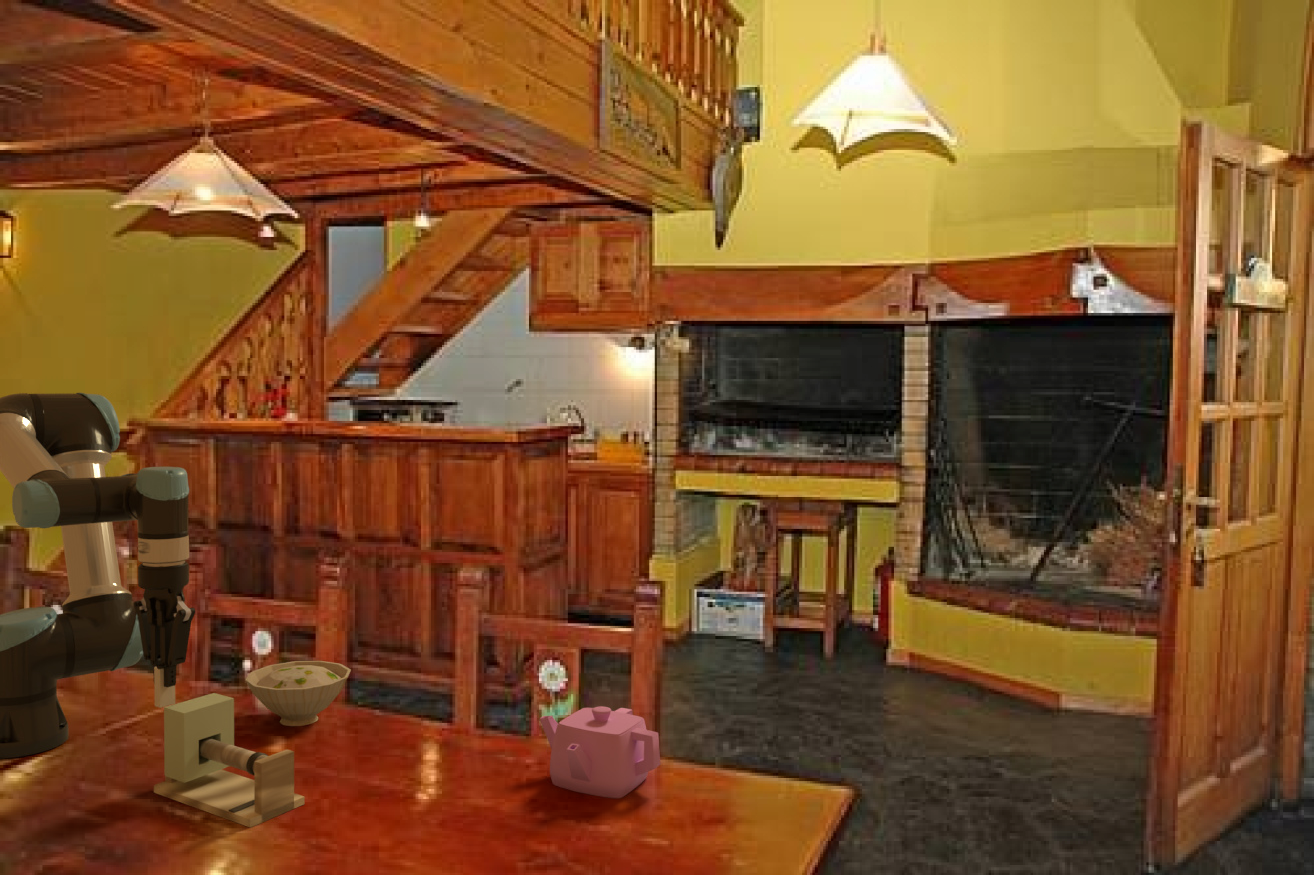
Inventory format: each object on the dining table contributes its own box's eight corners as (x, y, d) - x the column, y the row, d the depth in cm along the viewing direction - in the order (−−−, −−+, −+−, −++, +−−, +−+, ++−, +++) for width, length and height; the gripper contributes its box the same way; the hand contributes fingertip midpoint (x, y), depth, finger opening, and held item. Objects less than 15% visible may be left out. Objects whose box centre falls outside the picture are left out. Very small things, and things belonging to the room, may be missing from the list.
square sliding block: (164, 775, 165) (164, 707, 164) (214, 758, 172) (214, 692, 172) (184, 782, 162) (184, 713, 161) (234, 764, 170) (234, 698, 169)
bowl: (311, 697, 214) (311, 649, 213) (372, 717, 203) (372, 667, 202) (224, 722, 198) (224, 670, 198) (285, 745, 187) (285, 690, 187)
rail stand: (153, 792, 165) (153, 736, 165) (209, 772, 174) (208, 719, 173) (250, 827, 154) (250, 767, 153) (304, 804, 162) (304, 747, 162)
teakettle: (665, 794, 170) (667, 719, 169) (564, 807, 164) (566, 730, 163) (630, 757, 186) (631, 689, 185) (537, 768, 180) (538, 697, 179)
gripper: (117, 561, 170) (119, 704, 171) (167, 570, 163) (169, 718, 164) (159, 555, 176) (161, 692, 178) (209, 563, 170) (210, 705, 171)
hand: (165, 704), depth 171 cm, fingers closed
